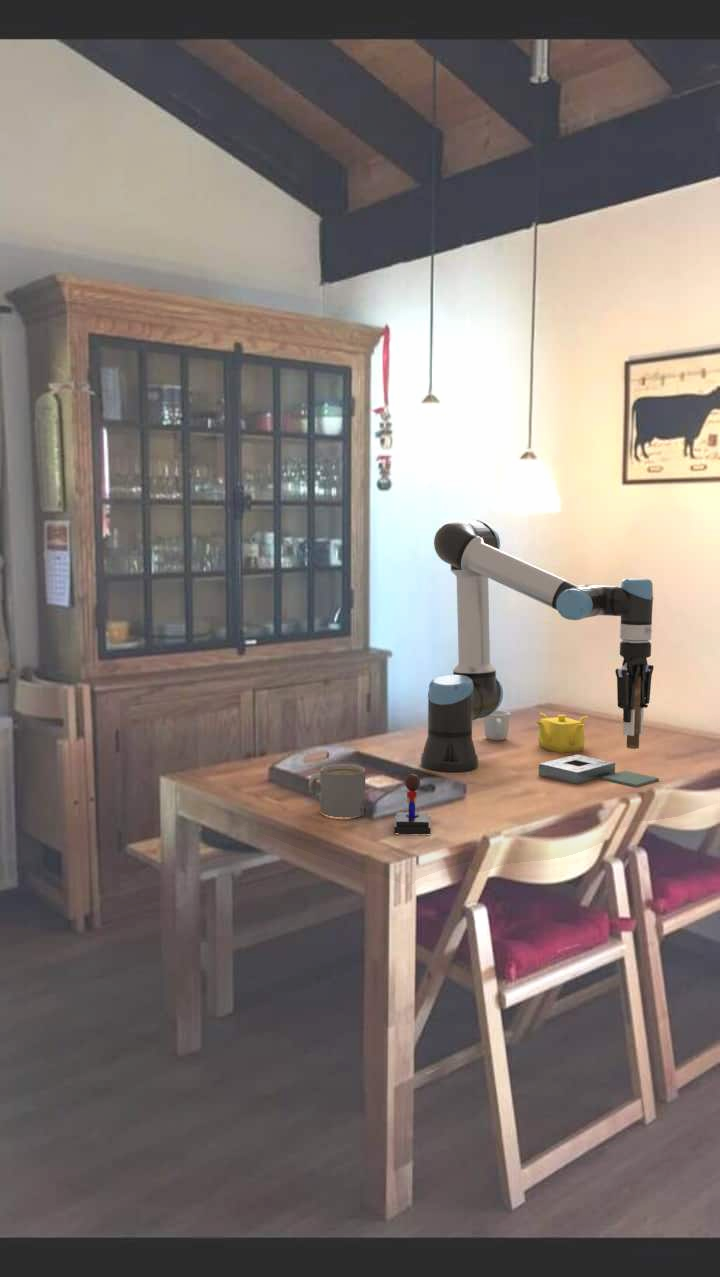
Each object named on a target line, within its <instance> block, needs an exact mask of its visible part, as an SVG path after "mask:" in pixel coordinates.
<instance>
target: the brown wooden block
mask: <svg viewBox="0 0 720 1277" xmlns="http://www.w3.org/2000/svg"><path fill="white" fill-rule="evenodd" d="M628 679H631V678H628ZM640 694H641V677H638V682H637V683H636V684H635V693H634V702H633V710H635V721H634V736H630V735H626V748H627V749H630V750H631V749H634V750H635V749H639V748H640V734H639V729H640Z"/></svg>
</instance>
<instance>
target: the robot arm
mask: <svg viewBox="0 0 720 1277" xmlns="http://www.w3.org/2000/svg"><path fill="white" fill-rule="evenodd" d="M433 547H434V551H435V553H436V554H437V557H438V558H439V559H441V561H443V562H444V563H446V564H448V565H450V572H452V574H453V575H454V576H455V578H456V601H457V602H456V607H457V610H456V611H457V645H458V646H457V647H458V648H457V649H458V650H457V651H458V653H457V654H458V656H457V657H458V664H457V665H456V666H455V667H454V668H453V672H452V674H447V675H442V676H437V677H435V678H433V679H432V680H431V681H430V682H429V685H428V692H427V706H428V707H427V712H428V713H427V714H428V715H427V738H426V741H425V744H424V748H423V751H422V753H421V755H420V766H422V767H423V768H425V769H428V770H431V771H432V770H433V771H437V772H439V771H440V772H455V773H456V772H466V771H471V770H472V771H473V770H475V769H476V768H478V766H479V757H478V755H477V753H476V748H475V744H474V740H473V721H475V720H478V719H484V717H486V716H488V715H490V714H491V713H493V712H494V711H496V710H499V707H500V706H501V704H502V701H503V698H504V691H503V685H502V684H501V682H500V681H499V680H498V678H497V674H496V672H497V670H496V668H495V667H494V665H492V664H491V653H490V652H491V651H490V650H491V649H490V648H491V647H490V646H491V645H490V644H491V643H490V642H491V641H490V606H489V604H490V603H489V602H490V601H489V599H490V598H489V596H490V595H489V579H490V580H492V581H494V582H496V583H498V584H501V585H503V586H504V587H507V588H510V589H511V590H513V591H515V592H518V593H520V594H522V595H524V596H525V597H528V598H531V599H533V600H534V601H536V602H538V603H541V604H542V605H545V606H548V607H549V608H551V609H554V610H556V611H557V612H558V614H559V615H560V616H561V617H562V618H563V619H565V620H570V621H579V620H584V619H587V618H592V617H597V616H605V617H606V616H607V617H608V616H609V617H611V616H612V617H620V627H619V628H620V630H619V639H620V640H622V641H620V643H619V655H620V657H622V658H623V659H622V660H623V662H622V664H621V666H622V667H620V668H616V669H615V676H616V687H617V688H616V690H617V691H616V694H617V698H616V699H617V707H618V708H619V709H623V711H622V714H623V716H622V717H623V718H622V721H623V723H622V724H623V725H622V734H623V735H625V736H627V735H630V736H634V721H635V710H633V702H634V693H635V684H636V683H637V682H638V677H641V694H640V729H639V735H642V734H643V727H644V726H643V725H644V724H643V721H644V708H645V709H647V708H648V706H649V703H650V701H651V687H652V686H651V685H652V676H653V672H654V668H655V667H654V665H652V664H648V660H647V658H650V657H651V655H652V643H651V640H652V632H653V630H652V624H653V621H652V620H653V604H654V592H653V590H654V589H653V587H654V586H653V585H654V584H653V581H652V580H650V579H648V578H623V579H622V581H621V585H618V586H616V585H615V586H613V585H598V584H595V585H594V584H579V585H577V584H575V583H572V582H570V581H569V580H566V579H564V578H561V577H559V576H557V575H555V574H553V573H551V572H549V571H547V570H544V569H541V568H539V567H537V566H535V565H533V564H531V563H529V562H527V561H524V560H522V559H520V558H517V557H516V556H513V555H510V554H509V553H506V552H505V551H502V550H500V548H501V540H500V535H499V534H498V532H497V530H496V529H495V528H494V527H493V525H492V524H490V523H488V522H486V521H483V520H480V519H477V520H476V519H471V520H470V519H467V520H464V519H462V520H459V519H455V520H454V519H453V520H450V521H447V522H445V523H444V524H442V525H441V526H440V527H439V528H438V530H437V531H436V532H435V535H434V540H433ZM629 678H631V679H629Z"/></svg>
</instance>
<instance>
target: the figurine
mask: <svg viewBox="0 0 720 1277" xmlns="http://www.w3.org/2000/svg"><path fill="white" fill-rule="evenodd" d="M404 784H405V787H406V789H407V791H406V803H407V804H408V811H407V812H403V811H402V812H400V811H397V812H396V815H394V827H393V828H394V833H399V834H430V835H431V818H430V816H429V812H416V804H417V799H418V798H417V790H418V789H419V788H420V787H421V786H420V785H421V779H420V777H419V776H418V775H417V774H414V773H410V774H408V775H407V776H406V778H405V780H404Z"/></svg>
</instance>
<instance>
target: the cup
mask: <svg viewBox="0 0 720 1277" xmlns="http://www.w3.org/2000/svg"><path fill="white" fill-rule="evenodd" d="M510 720H511V712H510V711H507V710H500V709H497V710H496V711H494V712H493V713H491V714H490V715H488V716H486V717H483V724H484V725H483V727H484V734H485V735H484V736H485V738H486V739H487V740H491V741H503V740H507V738H508V736H509V729H510Z"/></svg>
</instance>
